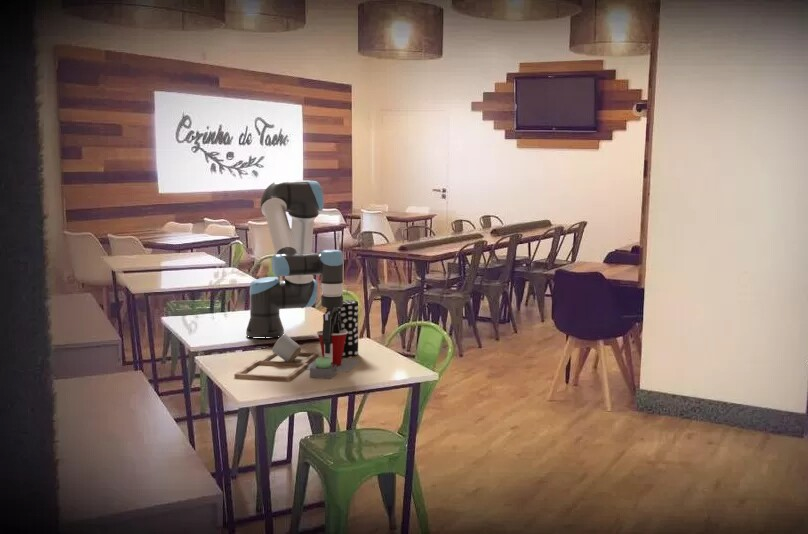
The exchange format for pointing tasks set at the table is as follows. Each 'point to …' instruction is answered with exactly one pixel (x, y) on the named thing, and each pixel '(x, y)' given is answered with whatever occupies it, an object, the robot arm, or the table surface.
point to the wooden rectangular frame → (266, 361)
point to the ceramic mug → (286, 348)
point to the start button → (323, 362)
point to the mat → (344, 367)
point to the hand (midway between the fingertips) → (332, 358)
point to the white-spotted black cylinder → (350, 327)
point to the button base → (323, 372)
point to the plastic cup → (335, 345)
